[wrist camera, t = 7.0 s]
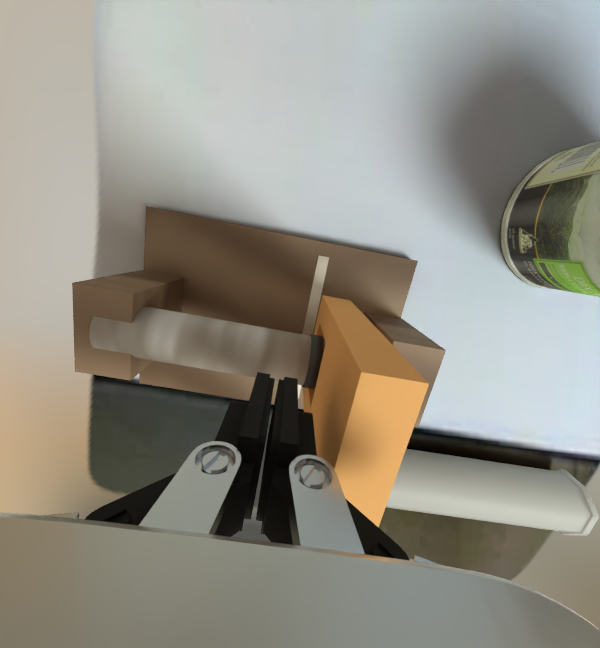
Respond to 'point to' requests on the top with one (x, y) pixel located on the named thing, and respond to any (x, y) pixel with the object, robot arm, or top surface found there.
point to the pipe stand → (236, 308)
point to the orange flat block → (362, 405)
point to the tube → (492, 492)
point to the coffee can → (557, 223)
